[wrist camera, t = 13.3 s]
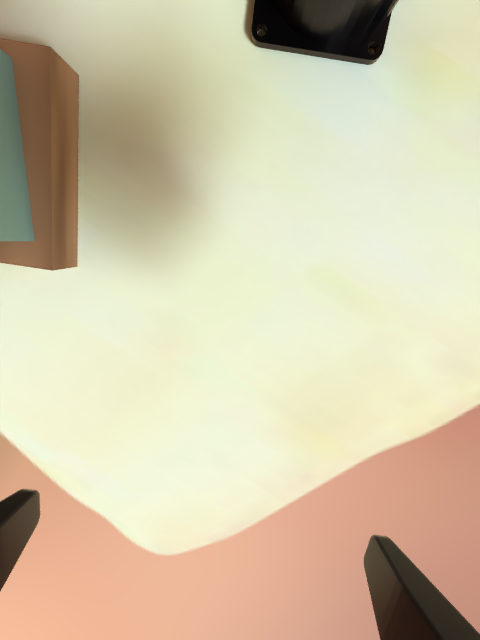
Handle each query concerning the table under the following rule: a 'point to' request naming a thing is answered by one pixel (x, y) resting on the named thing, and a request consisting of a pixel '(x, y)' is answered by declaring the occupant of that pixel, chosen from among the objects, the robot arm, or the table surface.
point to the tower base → (46, 155)
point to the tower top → (12, 162)
